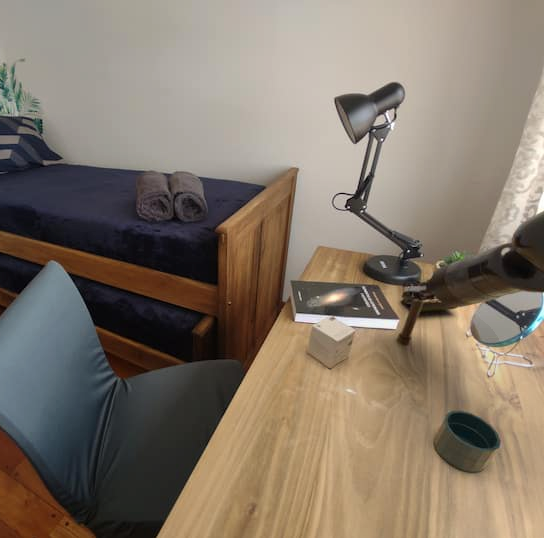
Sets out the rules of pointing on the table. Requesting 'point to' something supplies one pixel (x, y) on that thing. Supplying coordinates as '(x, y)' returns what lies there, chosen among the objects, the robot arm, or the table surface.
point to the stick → (410, 323)
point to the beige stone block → (330, 341)
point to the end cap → (428, 303)
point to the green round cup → (466, 441)
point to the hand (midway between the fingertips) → (412, 299)
